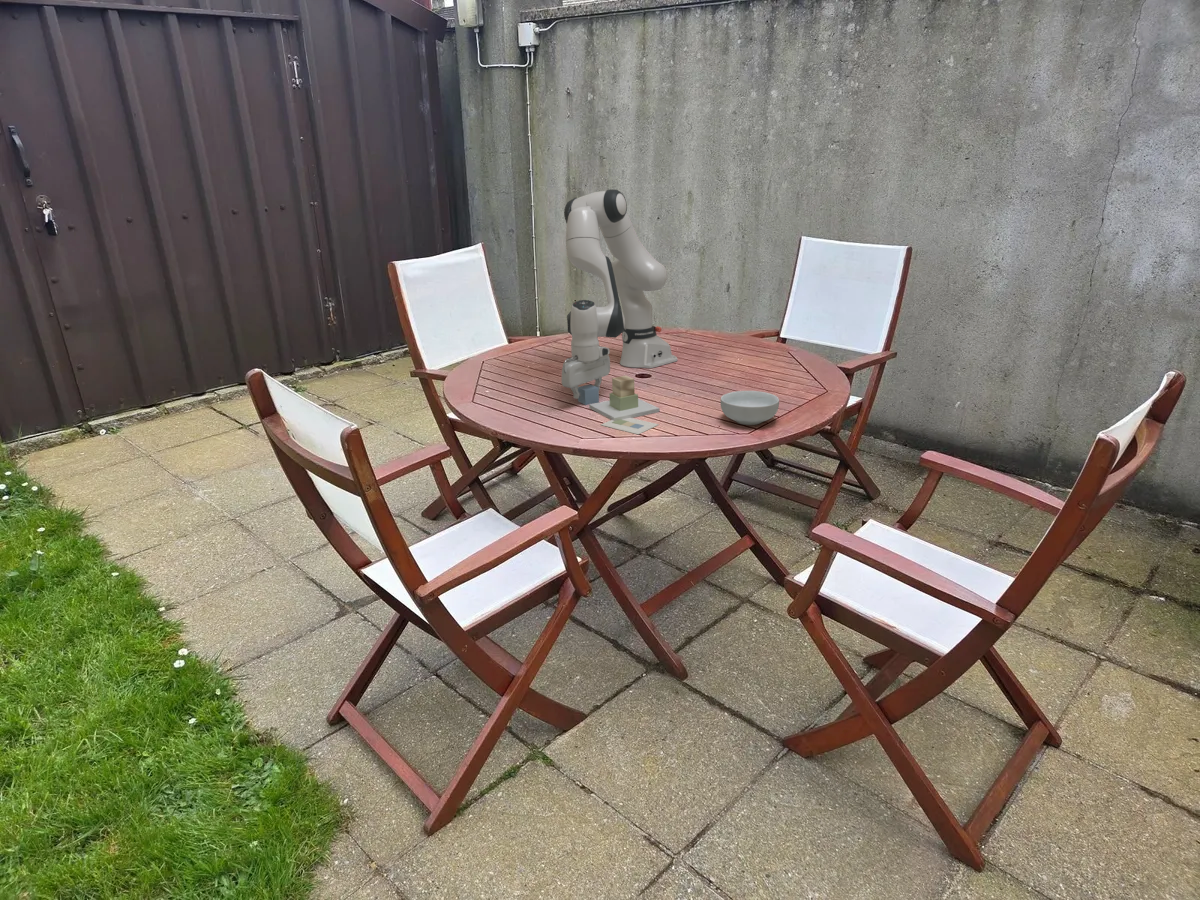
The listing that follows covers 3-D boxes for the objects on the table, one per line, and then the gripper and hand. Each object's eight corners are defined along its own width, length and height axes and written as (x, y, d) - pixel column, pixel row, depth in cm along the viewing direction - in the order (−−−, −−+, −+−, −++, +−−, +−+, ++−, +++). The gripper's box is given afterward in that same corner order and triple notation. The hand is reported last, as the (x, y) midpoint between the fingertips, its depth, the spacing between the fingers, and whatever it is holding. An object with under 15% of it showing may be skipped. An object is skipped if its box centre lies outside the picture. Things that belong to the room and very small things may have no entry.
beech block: (626, 390, 235) (625, 375, 233) (634, 394, 231) (634, 379, 229) (612, 393, 233) (612, 378, 231) (620, 397, 229) (620, 381, 227)
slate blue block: (591, 398, 246) (590, 384, 244) (599, 402, 242) (598, 387, 240) (578, 401, 244) (577, 386, 242) (585, 405, 240) (584, 390, 238)
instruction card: (621, 416, 228) (621, 415, 228) (658, 424, 220) (658, 424, 220) (600, 425, 221) (600, 424, 221) (638, 434, 213) (638, 433, 213)
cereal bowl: (788, 418, 221) (789, 396, 218) (759, 434, 210) (760, 410, 207) (739, 408, 232) (740, 386, 229) (708, 422, 220) (709, 399, 218)
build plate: (632, 399, 244) (631, 383, 242) (659, 411, 231) (659, 395, 229) (589, 408, 237) (588, 392, 235) (615, 421, 224) (614, 405, 222)
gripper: (570, 361, 228) (572, 404, 233) (612, 347, 242) (613, 388, 247) (555, 358, 232) (557, 400, 237) (598, 345, 246) (599, 385, 251)
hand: (586, 394), depth 242 cm, fingers open, 8 cm apart
